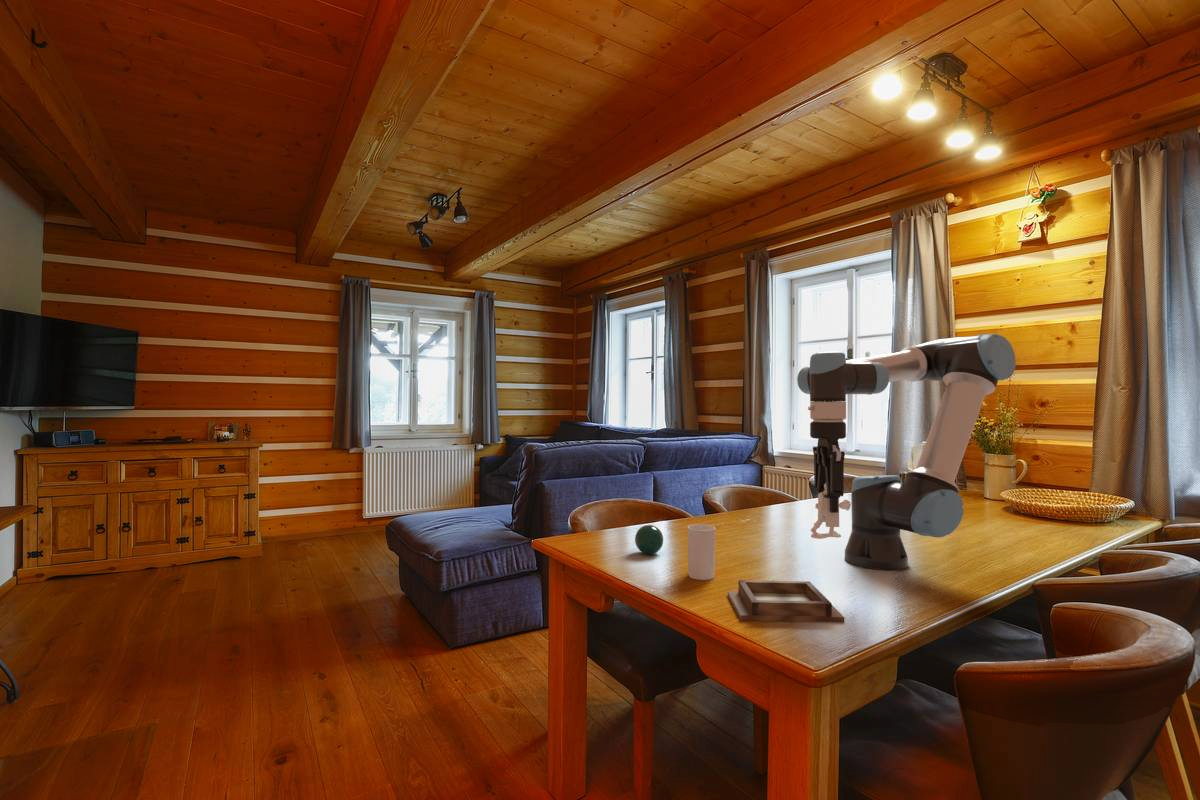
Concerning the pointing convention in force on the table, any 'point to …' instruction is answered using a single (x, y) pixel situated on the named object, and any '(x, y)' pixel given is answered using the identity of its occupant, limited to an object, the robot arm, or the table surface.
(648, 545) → the sphere
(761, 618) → the brown picture frame
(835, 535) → the figurine
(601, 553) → the table surface
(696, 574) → the mug
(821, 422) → the robot arm
